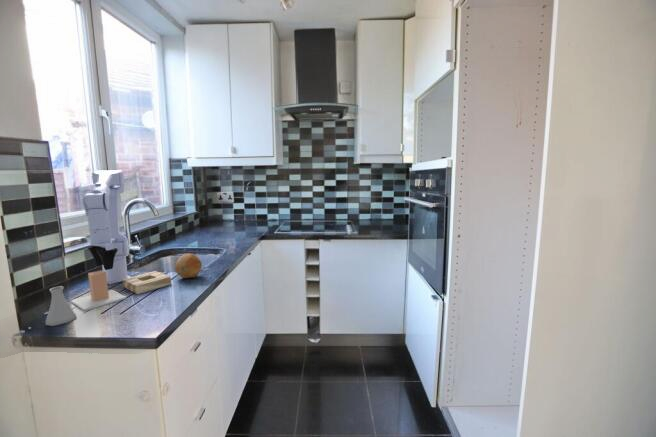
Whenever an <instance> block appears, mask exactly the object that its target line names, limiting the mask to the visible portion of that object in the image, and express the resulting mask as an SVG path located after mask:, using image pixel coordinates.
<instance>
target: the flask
mask: <svg viewBox="0 0 656 437" xmlns="http://www.w3.org/2000/svg"><path fill="white" fill-rule="evenodd" d="M63 291H64V286H62V285H59V286H55V287H52V288H49V292H50V293H51V294H50V295H51V300H50V305H49V310H48V313H47V316H46V320H45V326H48V327H49V326H51V327H55V326H59V325H63V324H64V325H65V324H66V323H70V322H72V321H73V320H76V319H77V314H76V313H75V311H74V310H73V308H72V307H71V305H70V304H69V302H68V301H67V299H66V297H65V295H64V292H63Z"/></svg>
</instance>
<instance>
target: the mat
mask: <svg viewBox="0 0 656 437" xmlns="http://www.w3.org/2000/svg"><path fill="white" fill-rule="evenodd" d="M108 294H109V298H107V299H103V300H100V301H96V302H95V301H93V300H92V299H91V294H90V295H86V296H82V297H79V298H75V299H72V300H71V301H70V302H71V303H72V304H74V306H76V307H77V308H79V309H80V310H81V311H83V312H86V311H89V310H93V309H96V308H99V307H102V306H106V305H109V304H112V303H116V302H119V301H123V300H126V299H127V296H125V295H124V294H121V293H120V292H118V291H116V290H114V289H108Z"/></svg>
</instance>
